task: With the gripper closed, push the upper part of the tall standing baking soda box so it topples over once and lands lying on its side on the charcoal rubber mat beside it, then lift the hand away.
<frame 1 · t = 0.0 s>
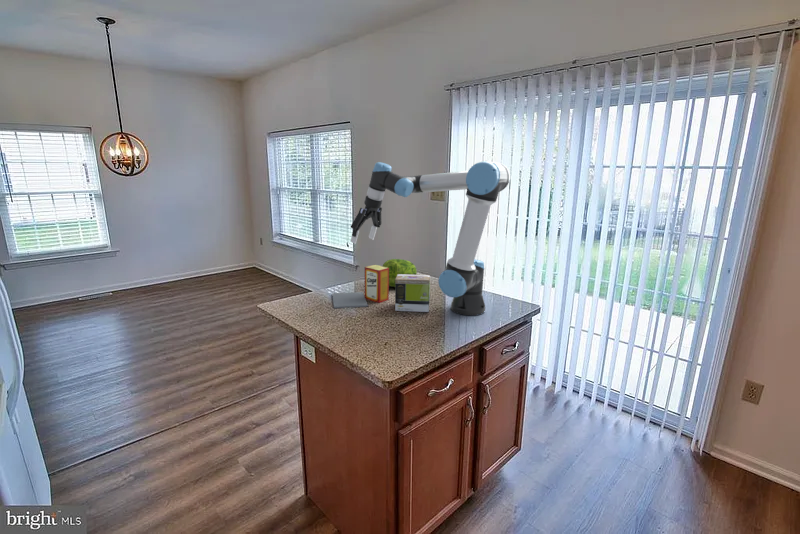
hand: (362, 240, 183), 28 cm above the countertop, tool tilted 20°, fingers open, 13 cm apart
tea box: (412, 308, 176), on the countertop
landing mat: (349, 300, 185), on the countertop
baking soda box: (376, 299, 188), on the countertop
lettuce: (400, 285, 211), on the countertop
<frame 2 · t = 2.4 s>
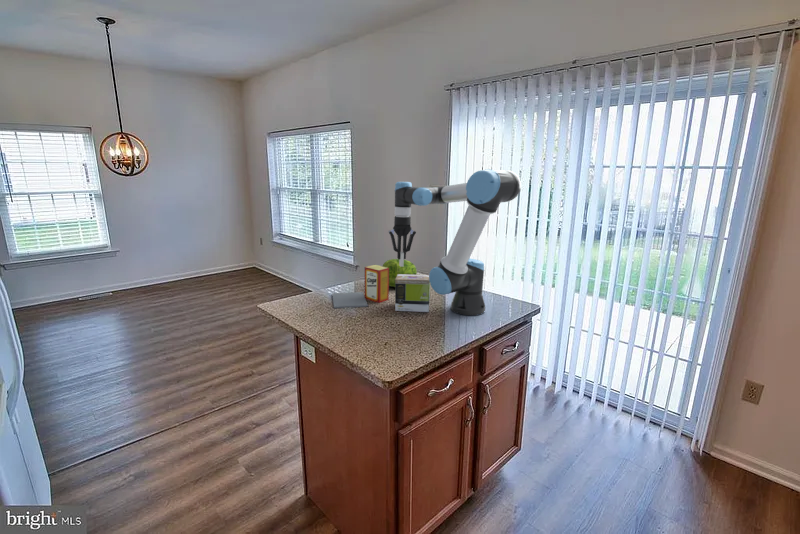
hand: (401, 265, 187), 16 cm above the countertop, tool pointing down, fingers closed
nothing on the countertop moved.
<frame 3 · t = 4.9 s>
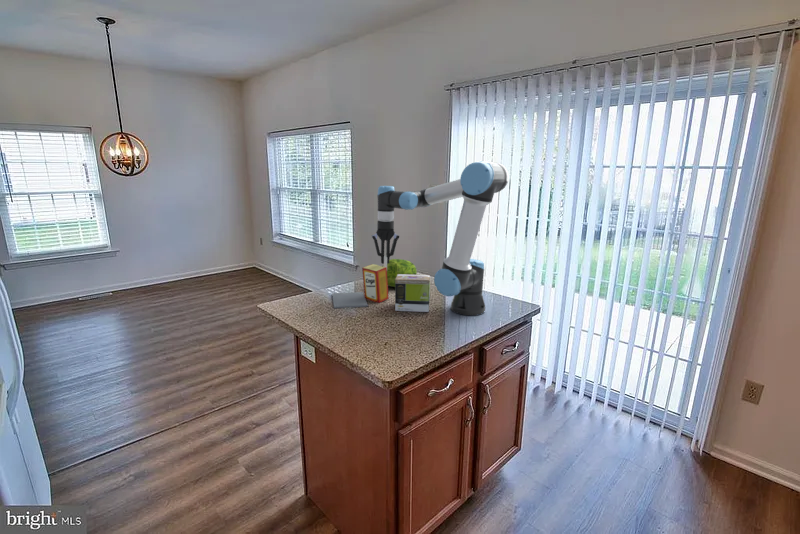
hand: (385, 270, 185), 14 cm above the countertop, tool pointing down, fingers closed
baking soda box: (376, 299, 188), on the countertop, touching gripper
everything else where it was.
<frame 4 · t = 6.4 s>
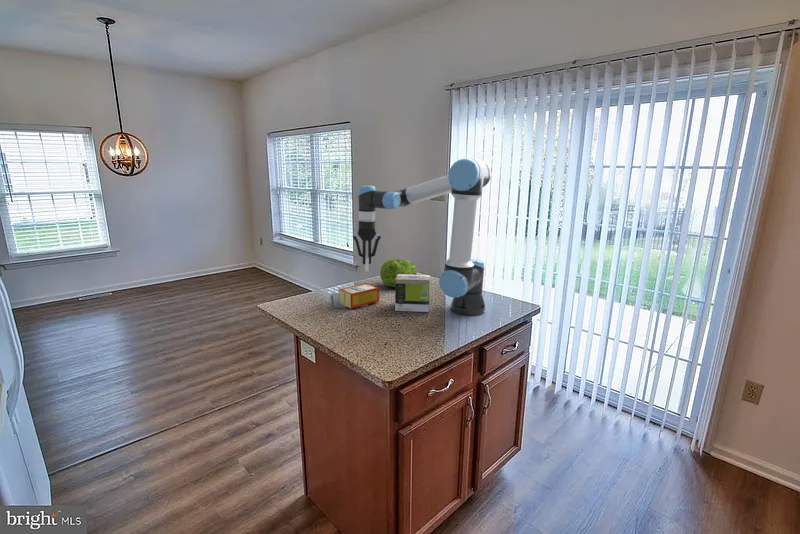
hand: (366, 270, 184), 14 cm above the countertop, tool pointing down, fingers closed
baking soda box: (373, 292, 185), point 4 cm above the countertop, touching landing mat
everything else where it was.
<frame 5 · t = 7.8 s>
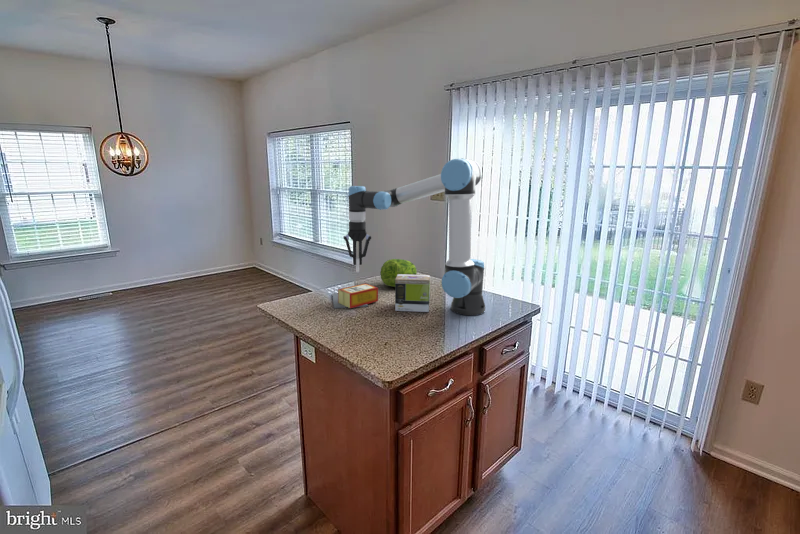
hand: (357, 271, 183), 14 cm above the countertop, tool pointing down, fingers closed
nothing on the countertop moved.
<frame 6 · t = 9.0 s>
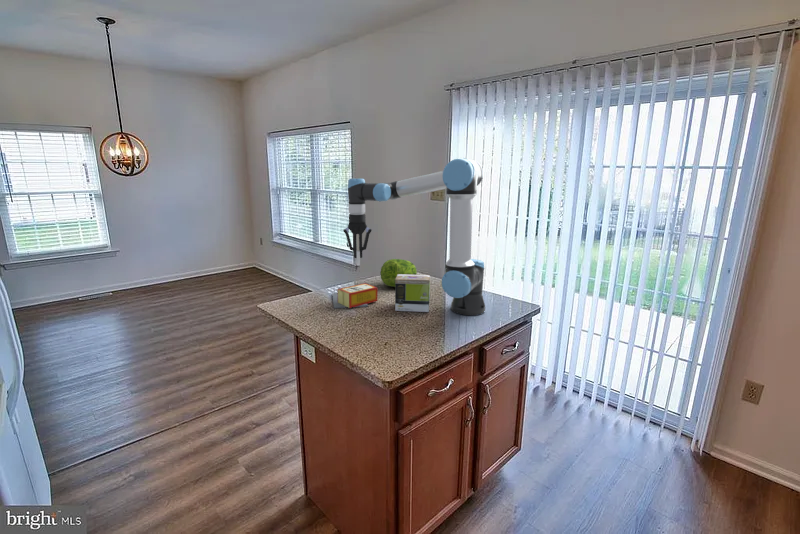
hand: (358, 264, 182), 17 cm above the countertop, tool pointing down, fingers closed
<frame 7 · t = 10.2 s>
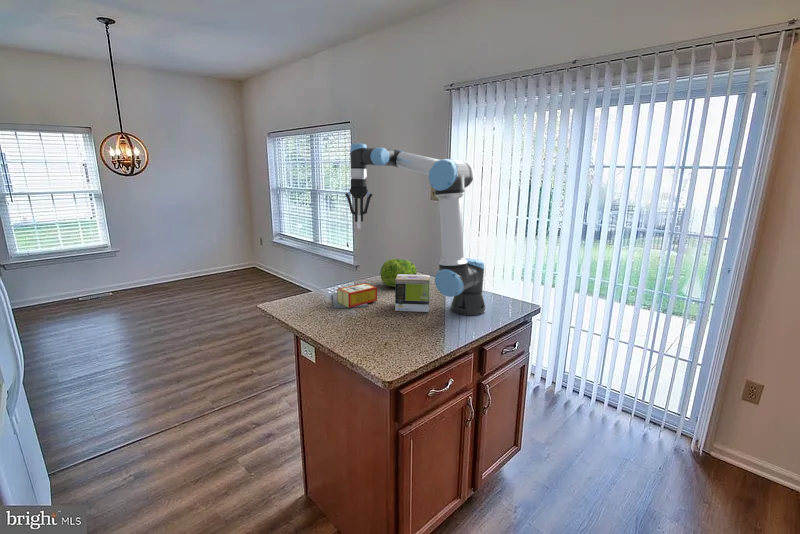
hand: (358, 228, 189), 33 cm above the countertop, tool pointing down, fingers closed
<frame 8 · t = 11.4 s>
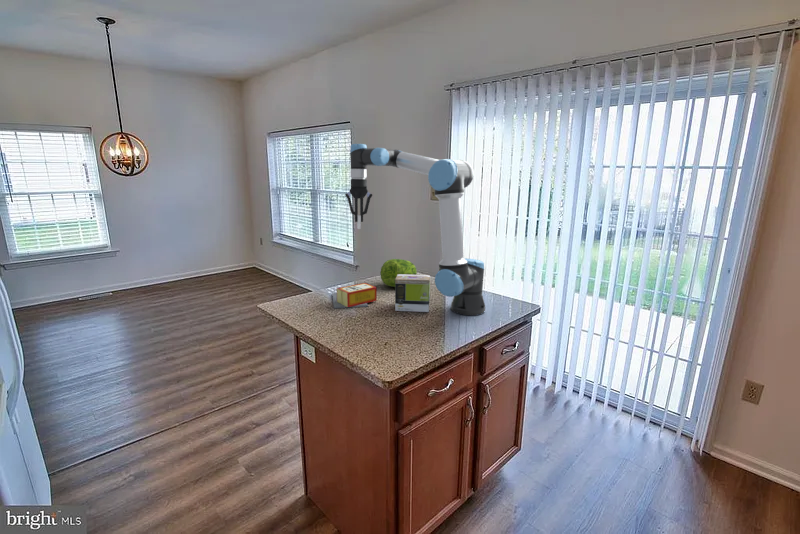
hand: (359, 228, 189), 32 cm above the countertop, tool pointing down, fingers closed
at the end: baking soda box tilted 90°; baking soda box touching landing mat; baking soda box inside the target area (4.8 cm from its centre), point 4.0 cm above the countertop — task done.
